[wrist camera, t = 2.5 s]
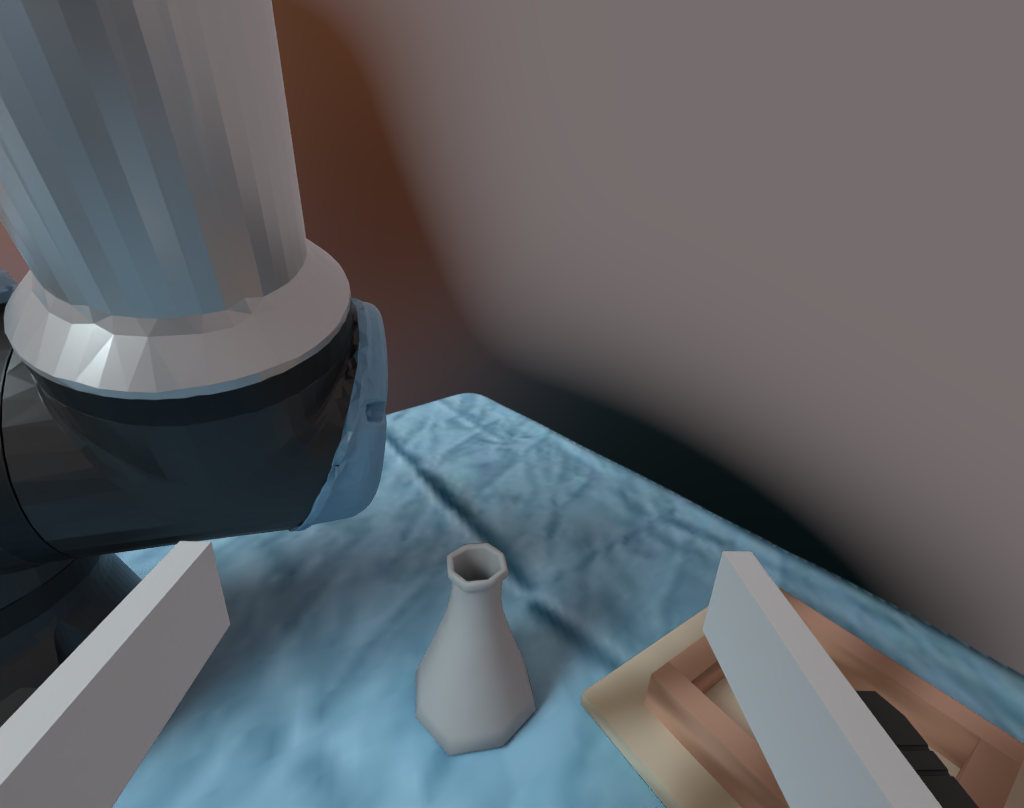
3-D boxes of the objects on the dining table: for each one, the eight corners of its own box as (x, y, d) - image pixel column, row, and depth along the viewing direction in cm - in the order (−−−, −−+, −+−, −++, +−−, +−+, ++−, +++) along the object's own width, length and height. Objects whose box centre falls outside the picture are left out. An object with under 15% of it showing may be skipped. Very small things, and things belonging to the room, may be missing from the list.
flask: (557, 719, 27) (574, 585, 24) (438, 784, 24) (435, 641, 20) (499, 627, 33) (505, 507, 29) (397, 669, 30) (388, 540, 26)
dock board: (580, 703, 28) (587, 661, 27) (748, 586, 38) (759, 551, 37) (970, 1172, 15) (1021, 1136, 14) (1075, 805, 25) (1111, 763, 23)
